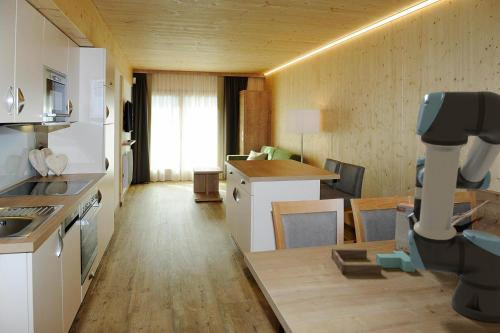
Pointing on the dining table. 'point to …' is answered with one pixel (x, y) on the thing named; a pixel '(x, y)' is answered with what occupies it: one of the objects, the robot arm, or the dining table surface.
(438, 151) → the robot arm
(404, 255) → the t block
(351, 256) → the nest
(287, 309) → the dining table surface
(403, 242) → the cracker box
